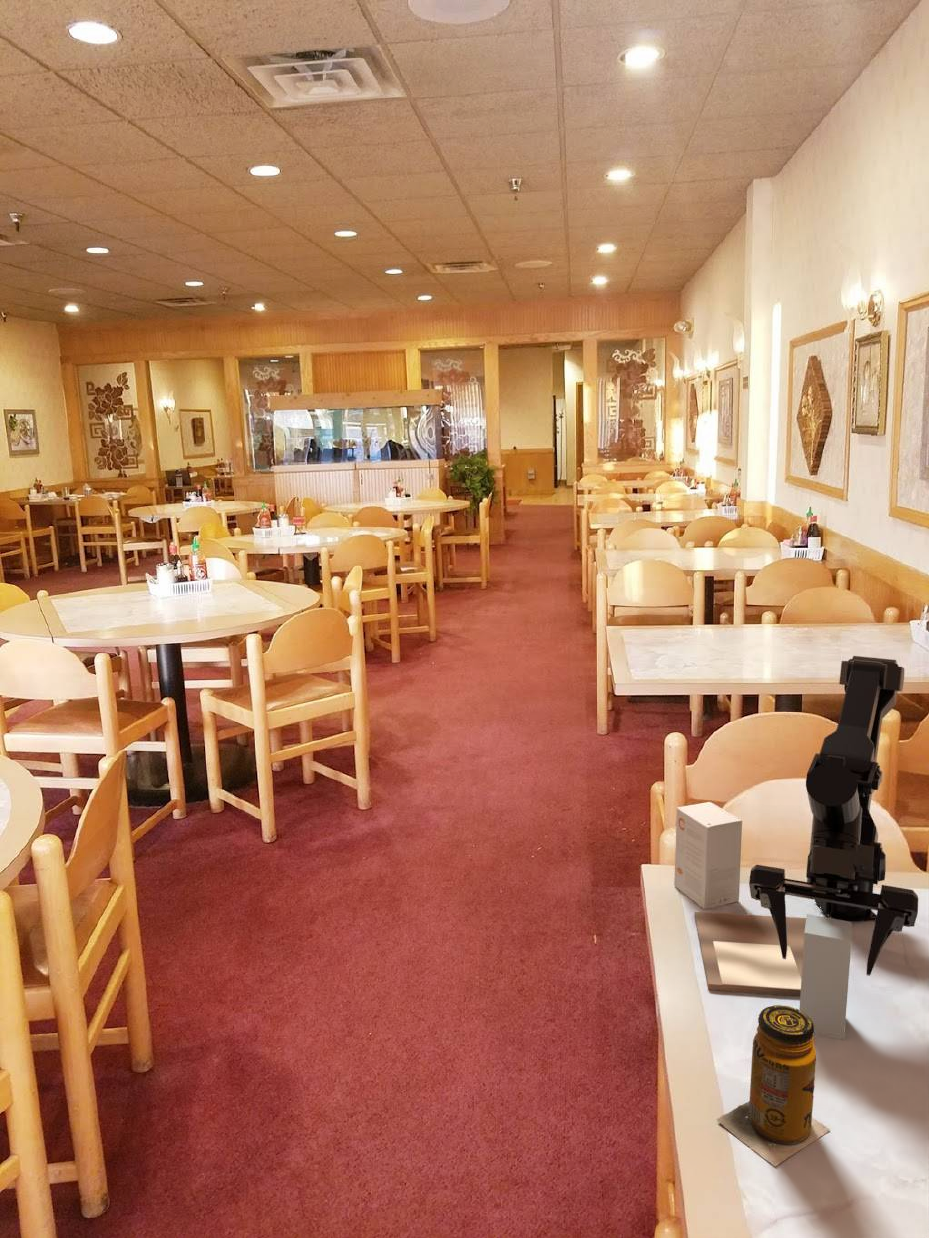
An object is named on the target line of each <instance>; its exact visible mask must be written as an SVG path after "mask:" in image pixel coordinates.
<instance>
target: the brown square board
mask: <svg viewBox="0 0 929 1238" xmlns="http://www.w3.org/2000/svg"><path fill="white" fill-rule="evenodd" d="M694 922H695V928H696V931H697V937H698V943H699V949H700V955H701V958H702V964H703V965H702V966H703V969H704V974H705V979H706V985H707V990H708V991H709V990H710V991H720V992H721V991H722V992H735V993H750V994H751V993H752V994H767V995H778V996H779V995H783V996H795V997H796V996H797V997H800V994H801V978H802V963H803V947H804V932H805V925H806V917H794V916H793V917H791V916H786V929H787V955H786V959H783V958H782V953H781V949H780V944H779V939H778V934H777V930H776V926H775V924H774V921H773V918H772V915H762V914H761V915H758V914H757V915H756V914H742V913H741V914H740V913H727V912H726V913H724V912H723V913H721V912H706V911H705V912H704V911H703V912H702V911H694Z"/></svg>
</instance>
